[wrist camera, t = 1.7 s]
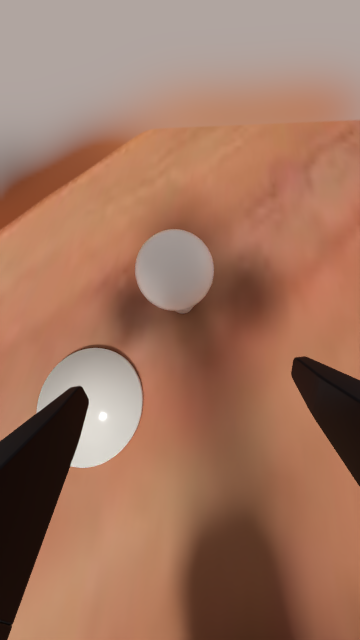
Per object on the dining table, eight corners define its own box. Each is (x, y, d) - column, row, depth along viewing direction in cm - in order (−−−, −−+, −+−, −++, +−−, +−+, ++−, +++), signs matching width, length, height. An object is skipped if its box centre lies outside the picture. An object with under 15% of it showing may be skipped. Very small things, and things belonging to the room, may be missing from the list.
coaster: (164, 417, 19) (163, 418, 19) (67, 491, 19) (63, 495, 18) (110, 329, 23) (108, 327, 22) (26, 388, 22) (21, 388, 21)
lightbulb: (203, 277, 23) (206, 199, 13) (214, 325, 22) (227, 281, 11) (155, 286, 24) (118, 218, 13) (161, 334, 22) (124, 300, 11)
